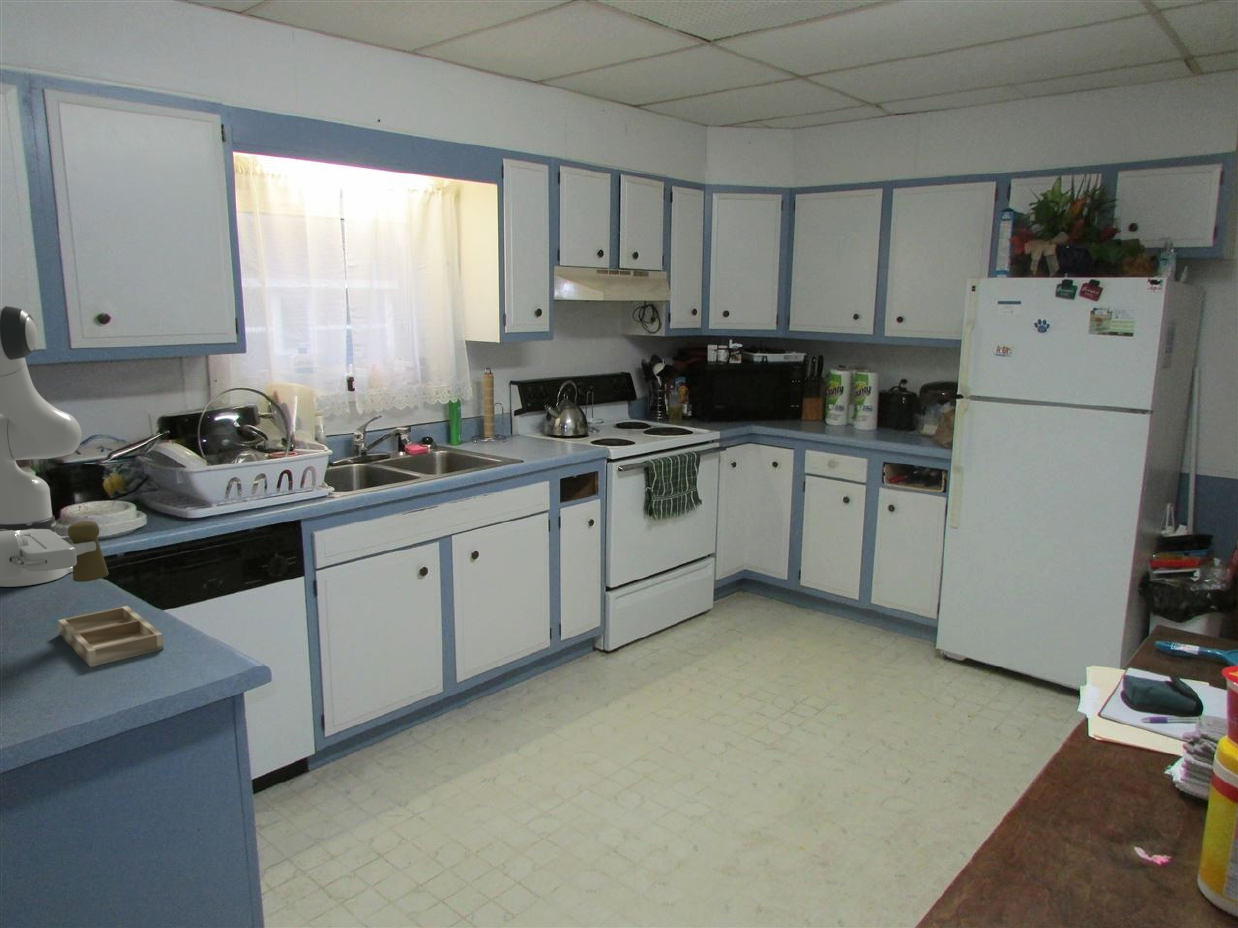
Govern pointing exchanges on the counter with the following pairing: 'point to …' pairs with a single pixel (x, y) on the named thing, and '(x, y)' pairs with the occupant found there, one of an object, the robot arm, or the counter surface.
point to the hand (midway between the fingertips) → (91, 542)
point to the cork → (88, 562)
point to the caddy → (110, 635)
